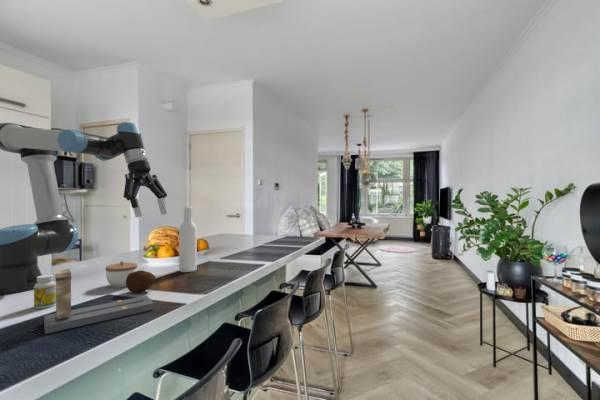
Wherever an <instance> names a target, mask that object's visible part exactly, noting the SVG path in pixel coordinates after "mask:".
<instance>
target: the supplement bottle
mask: <svg viewBox="0 0 600 400" xmlns="http://www.w3.org/2000/svg"><path fill="white" fill-rule="evenodd" d="M37 282H38V283H36V284H35V285H34V289H33V298H34V299H33V303H34V304H33V305H34V306H33V307H34V309H38V310H39V309H40V310H43V309H47V308H48V309H49V308H51V307H54V306H56V281H54V275H53V274H42V276H38V277H37Z"/></svg>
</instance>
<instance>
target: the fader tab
mask: <svg viewBox="0 0 600 400" xmlns="http://www.w3.org/2000/svg"><path fill="white" fill-rule="evenodd" d="M54 277H55V282H56V304H55V313H56V316H57V319H61V318H66V317H71V310H72V271H71V269H70V268H66V269H59V270H58V269H57V270H55V276H54Z"/></svg>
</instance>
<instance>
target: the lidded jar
mask: <svg viewBox="0 0 600 400" xmlns="http://www.w3.org/2000/svg"><path fill="white" fill-rule="evenodd" d="M136 271H138V263H135V262H124V260H121V261H119V262H117V263H113V264H110V265H109V264H108V265H107V266H105V278H106V280H107V282H108V284H110V285H111V286H112V287H113V288H124V287H126V288H127V286H126V279H127V276H128V275H129V273H132V272H136Z"/></svg>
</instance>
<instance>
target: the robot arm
mask: <svg viewBox="0 0 600 400" xmlns="http://www.w3.org/2000/svg"><path fill="white" fill-rule="evenodd" d="M0 150H1V151H4V152H7V153H14V154H19V155H20V160H21V161H22V162H23V163H25V164H26V166H27V170H28V176H29V182H30V187H31V193H32V198H33V203H34V208H35V215H36V221H35V222H33V223H31V224H30V223H29V224H20V225H19V224H18V225H13V226H12V225H11V226H6V227H3V228H1V229H0V295H4V294H14V293H19V292H20V293H22V292H25V291H29V290H34V285H35V284H36V283H38V282H37V277H38V276H42V275H43V274H42V272H41V269H40V268H39V265H38V263H39V262H38V258H39V257H43V256H48V255H53V254H54V255H55V254H60V253H64V252H68V251H70V250H72V249H73V248H74V247H75V246H76V244H77V242H78V240H79V231H78V228H77V227H76V226H75V225H73V224H71V223H70V222H69V218H67V217H66V216H64V212H63V209H62V203H61V198H60V191H59V187H58V181H57V176H56V170H55V164H54V162H55V161H56V160H57V159H58V156H59V155H60V154H61V152H65V153H73V154H74V153H75V154H83V155H90V156H94V157H95V159H98V160H100V161H102V162H107V161H109V160H113V159H115V158H116V157H119V156H121V155H123V156H124V160H125V163H126V164H127V165H126V166H127V169H128V173H126V174H124V178H125V182H124V191H123V198H124V199H126V201H129V202H130V205H131V209H133V213H134V216H135V218H139V217H142V216H144V213H143V209H142V205H141V203H140V199H139V197H137V196H138V194H139V191H140V188H141V187H145V188H147V189H149V190H150V191H151V193H153V194H154V196H155V197H156V198H157V199H156V200H157V205H158V208H159V212H160V214H161V216H163V215H166V214H169V211H168V208H167V203H166V199H165V198H166V197H168V193H167V192H166V191H165V188H164V187H163V185H162V184H161V182H160V180H159V179H158V176H157V174H152V175H151V174H150V172H151V169H152V168H151V165H150V162H149V160H148V156H147V152H146V149H145V146H144V142H143V138H142V133H141V132H140V129H139V127H138V125H137V124H136V123H133V122H122V123H119V124H118V125H117V126H116V134H114V135H111V136H108V137H107V136H101V135H97V134H92V133H88V132H83V131H79V130H77V129H67V128H66V129H63V130H60V129H59V130H58V129H46V128H38V127H35V126H34V127H33V126H27V125H23V124H19V123H12V122H2V123H1V122H0Z"/></svg>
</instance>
